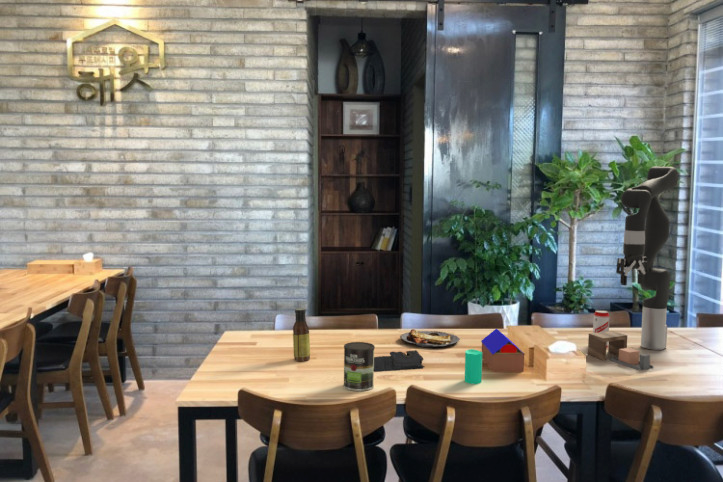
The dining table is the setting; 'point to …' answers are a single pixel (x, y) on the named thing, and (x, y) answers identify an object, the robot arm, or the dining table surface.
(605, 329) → the beer can
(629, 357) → the block
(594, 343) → the tunnel
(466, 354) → the candle
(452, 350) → the dining table surface
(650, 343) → the robot arm
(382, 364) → the dark slate chunk
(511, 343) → the house
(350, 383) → the coffee can
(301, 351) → the sauce bottle
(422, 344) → the food plate
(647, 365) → the sled
